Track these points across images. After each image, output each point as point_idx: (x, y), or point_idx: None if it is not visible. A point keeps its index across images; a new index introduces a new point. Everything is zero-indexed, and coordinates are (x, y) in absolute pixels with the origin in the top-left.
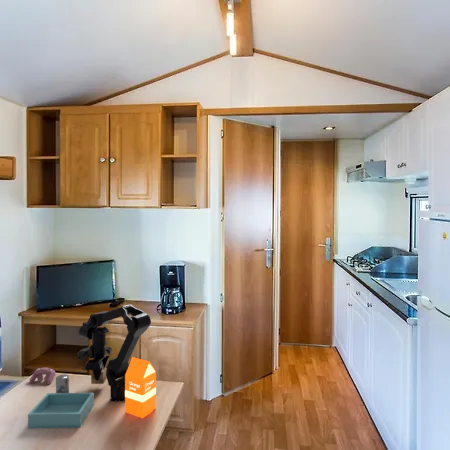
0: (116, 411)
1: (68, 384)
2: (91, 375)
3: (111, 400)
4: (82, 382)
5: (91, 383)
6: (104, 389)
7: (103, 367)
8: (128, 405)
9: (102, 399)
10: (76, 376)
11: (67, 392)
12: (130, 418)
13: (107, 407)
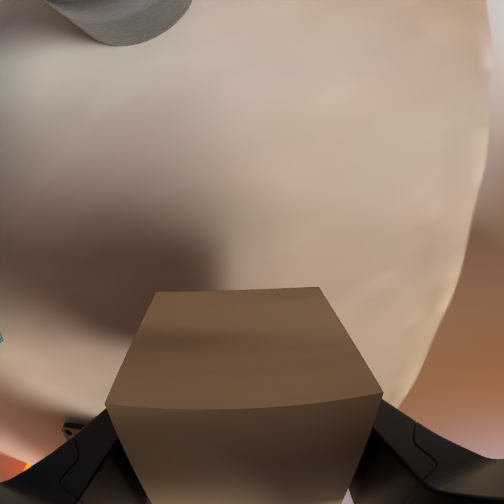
0: (13, 439)
1: (93, 8)
2: (122, 365)
3: (62, 430)
4: (377, 97)
5: (156, 296)
6: None
7: (334, 494)
8: None
9: (71, 378)
10: (470, 33)
11: (103, 39)
12: (8, 469)
13: (17, 408)
